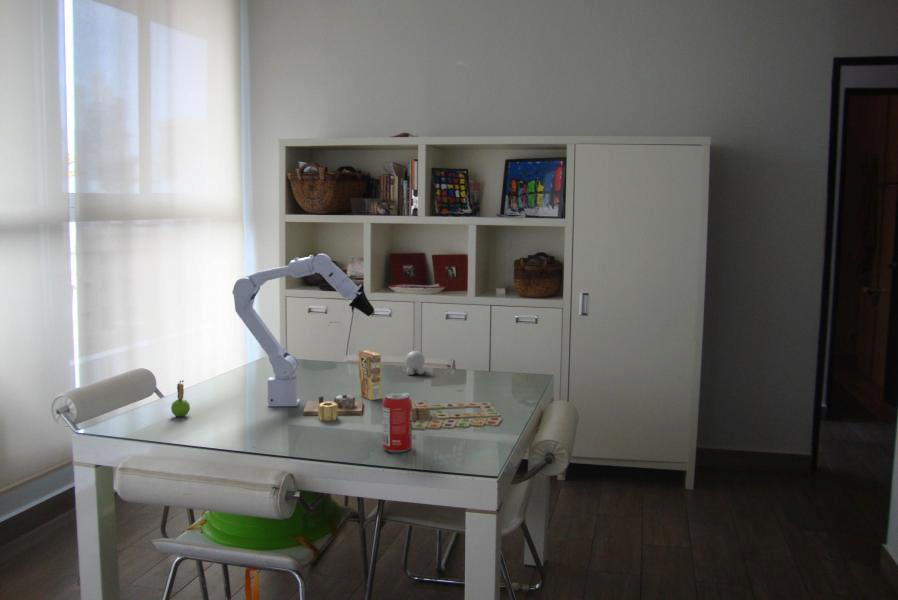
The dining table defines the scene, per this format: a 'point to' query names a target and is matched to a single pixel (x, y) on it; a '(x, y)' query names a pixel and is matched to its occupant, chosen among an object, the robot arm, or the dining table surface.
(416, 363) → the chubby cartoon animal
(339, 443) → the dining table surface
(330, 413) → the brass gear
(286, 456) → the dining table surface
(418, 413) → the pile of dominoes
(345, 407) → the gear board
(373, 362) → the candy box
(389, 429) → the soda can
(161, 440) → the dining table surface
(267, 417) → the dining table surface
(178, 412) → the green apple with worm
